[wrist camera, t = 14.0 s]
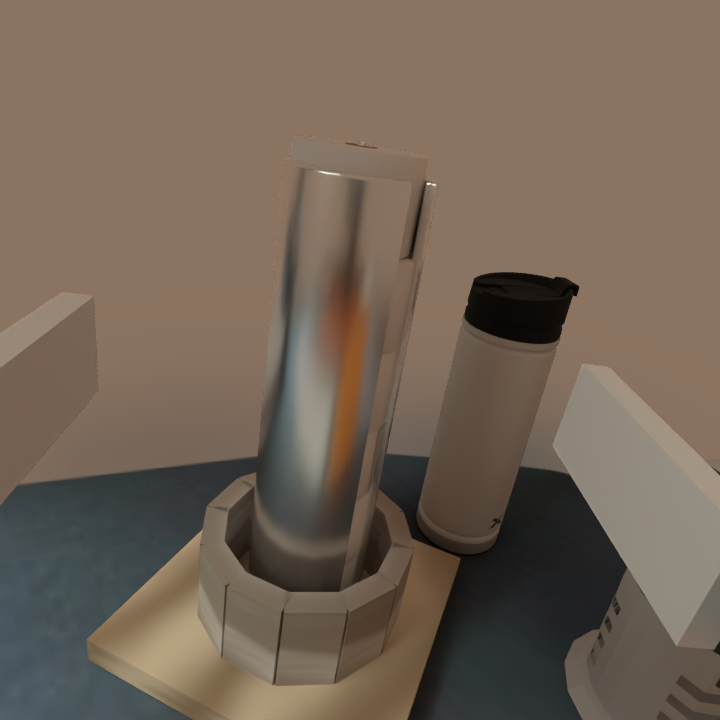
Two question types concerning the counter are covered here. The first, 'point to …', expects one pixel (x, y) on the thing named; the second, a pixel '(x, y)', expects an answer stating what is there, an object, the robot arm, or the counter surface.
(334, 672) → the collar
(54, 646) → the counter surface
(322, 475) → the metal cylinder
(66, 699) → the counter surface
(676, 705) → the french press
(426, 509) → the travel mug
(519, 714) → the counter surface
